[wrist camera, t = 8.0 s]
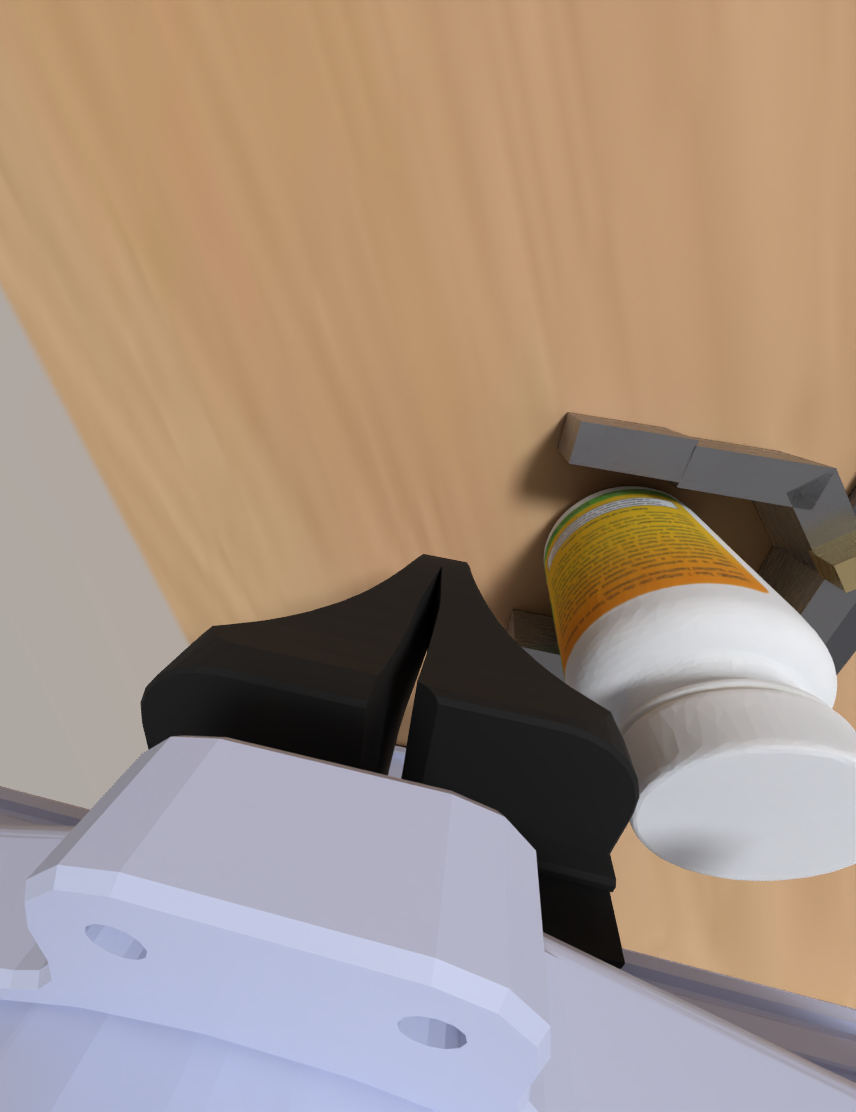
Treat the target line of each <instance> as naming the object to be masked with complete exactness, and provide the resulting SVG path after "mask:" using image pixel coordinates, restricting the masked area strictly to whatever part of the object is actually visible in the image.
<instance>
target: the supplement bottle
mask: <svg viewBox="0 0 856 1112" xmlns="http://www.w3.org/2000/svg"><path fill="white" fill-rule="evenodd" d="M544 569H545V575H546V582H547V587H548V591H549V596H550V602H551V607H552V613H553V619H554V624H555V629H556V635H557V640H558V646H559V651H560V656H561V663H562V669H563V674H564V680H565V683H566V684H567V685H569V686H570V687H572V688H573V689H575V690H576V691H578V692H580V693H581V694H583V695H584V696H586V697H588V698H589V699H591V700H593V701H594V702H596V703H597V704H599V705H601V706H602V707H604V708H606V709H607V710H609V711H610V712H611V713H612V715H613V718H614V720H615V722H616V724H617V726H618V728H619V731H620V733H621V735H622V737H623V739H624V742H625V744H626V747H627V749H628V752H629V754H630V757H631V760H632V763H633V766H634V769H635V772H636V775H637V778H638V784H639V800H638V803H637V806H636V808H635V811H634V814H633V816H632V817H631V819H630V823H631V826H632V828H633V830H634V832H635V834H636V835H637V837H638V838H639V839H640V840H641V842H642V843H643V844H644V845H645V846H646V847H647V848H648V849H649V850H650V851H652V852H653V853H654V854H656V855H657V856H659V857H660V858H662V859H664V860H666V861H668V862H670V863H672V864H674V865H677V866H679V867H681V868H684V869H687V870H690V871H694V872H697V873H701V874H705V875H710V876H715V877H720V878H727V879H735V880H751V881H775V880H788V879H797V878H805V877H812V876H816V875H821V874H826V873H829V872H833V871H837V870H839V869H842V868H845V867H848V866H851V865H853V864H856V731H855V730H854V729H853V728H852V726H851V725H850V724H849V723H848V722H847V721H846V720H845V719H844V718H843V717H842V716H841V715H839V714H838V713H837V712H835V711H834V710H832V708H833V705H834V701H835V698H836V691H837V676H836V670H835V665H834V663H833V660H832V657H831V655H830V653H829V651H828V649H827V647H826V646H825V644H824V643H823V641H822V640H821V638H820V637H819V636H818V634H817V633H816V631H815V630H814V629H813V628H812V627H811V626H810V625H809V624H808V623H807V622H806V621H805V619H804V618H803V617H802V616H801V615H800V614H799V613H798V612H797V611H796V610H795V609H794V608H793V607H792V606H791V605H790V604H789V603H788V602H786V601H785V600H784V599H783V598H782V597H781V596H780V595H779V594H778V593H777V592H776V591H775V590H774V589H773V588H772V587H771V586H770V585H769V584H768V583H767V582H765V581H764V580H763V579H762V578H761V577H760V576H759V575H758V574H757V573H756V572H755V571H754V570H753V569H752V568H751V567H750V566H749V565H748V564H747V563H746V562H745V561H744V560H742V559H741V558H740V557H739V556H738V555H737V554H736V553H735V552H734V551H733V550H732V549H731V548H730V547H729V546H728V545H727V544H726V543H725V542H724V541H723V540H722V539H721V538H720V537H719V536H718V535H717V534H716V533H715V532H714V531H712V530H711V529H710V528H709V527H708V526H707V525H706V524H705V523H704V522H703V521H702V520H701V519H700V518H699V517H698V516H697V515H696V514H695V513H694V512H693V511H692V510H690V509H689V508H688V507H687V506H686V505H685V504H684V503H682V502H681V501H679V500H678V499H677V498H675V497H673V496H672V495H670V494H667V493H665V492H663V491H660V490H656V489H653V488H647V487H640V486H622V487H615V488H609V489H605V490H602V491H599V492H596V493H594V494H591V495H589V496H587V497H586V498H584V499H582V500H580V501H579V502H577V503H576V504H575V505H573V506H572V507H571V508H569V509H568V510H567V511H566V512H565V513H564V514H563V515H562V516H561V517H560V518H559V520H558V521H557V522H556V523H555V525H554V527H553V528H552V530H551V532H550V534H549V536H548V539H547V542H546V545H545V550H544Z"/></svg>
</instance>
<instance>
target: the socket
mask: <svg viewBox="0 0 856 1112" xmlns="http://www.w3.org/2000/svg"><path fill="white" fill-rule="evenodd" d="M558 449H559V451H560V452H561V453H562V455H563V456H564V457H565V459H566V460H567V462H568V463H569V464H575V465H581V466H586V467H592V468H598V469H604V470H610V471H616V472H622V473H627V474H633V475H639V476H645V477H651V478H657V479H663V480H667V481H668V482H670V483H671V484H673V485H674V486H676V487H678V488H684V489H690V490H695V491H701V492H707V493H713V494H719V495H724V496H730V497H736V498H742V499H748V500H752V501H753V503H754V505H755V507H756V509H757V511H758V513H759V515H760V517H761V520H762V522H763V524H764V526H765V528H766V530H767V532H768V534H769V536H770V538H771V540H772V542H773V544H774V546H773V548H772V549H771V551H770V553H769V554H768V556H767V558H766V560H765V561H764V563H763V565H762V567H761V568H760V570H759V572H758V575H759V576H760V577H761V578H762V579H763V580H764V581H765V582H767V583H768V584H769V585H770V586H771V587H772V588H773V589H774V590H775V591H776V592H777V593H778V594H779V595H780V596H781V597H782V598H783V599H784V600H785V601H786V602H788V603H789V604H790V605H791V606H792V607H793V608H794V609H795V610H796V611H797V612H798V613H799V614H800V615H801V616H802V617H803V618H804V619H805V621H806V622H807V623H808V624H809V625H810V626H811V627H812V628H813V629H814V630H815V631H816V633H817V634H818V636H819V637H820V638H821V640H822V641H823V643H824V644H825V646H826V647H827V649H828V651H829V653H830V655H831V657H832V660H833V663H834V665H835V670H836V675H837V674H838V673H839V672H840V670H841V669H842V668H843V666H844V665H845V664H846V663H847V661H848V660H849V659H850V657H851V656H852V655H853V654H854V652H855V651H856V486H855V488H854V489H853V491H852V493H851V494H850V496H849V497H848V496H847V494H846V491H845V489H844V486H843V484H842V481H841V479H840V477H839V474H838V472H837V469H836V468H833V467H830V466H826V465H823V464H820V463H816V462H813V461H810V460H807V459H803V458H800V457H797V456H793V455H790V454H787V453H783V452H780V451H775V450H769V449H762V448H756V447H750V446H744V445H738V444H732V443H725V442H719V441H713V440H707V439H701V438H694V437H689V436H686V435H683V434H680V433H678V432H675V431H672V430H670V429H667V428H663V427H657V426H651V425H645V424H638V423H632V422H626V421H620V420H613V419H607V418H601V417H595V416H589V415H582V414H576V413H570V412H567V415H566V419H565V423H564V426H563V430H562V433H561V437H560V441H559V444H558ZM507 633H508V634H509V635H510V636H511V637H512V638H513V639H514V640H515V641H516V642H517V643H518V644H519V645H520V646H521V647H522V648H523V649H524V650H525V651H526V652H527V653H528V654H529V655H530V656H532V657H533V658H534V659H535V660H536V661H537V662H538V663H540V664H541V665H542V666H543V667H544V668H546V669H547V670H548V671H550V672H551V673H552V674H554V675H555V676H556V677H558V678H559V679H560V680H562V681H563V682H564V683H565V680H564V674H563V669H562V663H561V656H560V651H559V646H558V640H557V635H556V629H555V624H554V619H553V617H550V616H545V615H540V614H535V613H530V612H525V611H520V610H515V609H513V610H512V613H511V617H510V621H509V624H508V628H507Z"/></svg>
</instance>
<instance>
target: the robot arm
mask: <svg viewBox="0 0 856 1112" xmlns="http://www.w3.org/2000/svg"><path fill="white" fill-rule="evenodd" d="M427 648H428V649H427ZM426 651H427V655H426V658H425V661H424V664H423V667H422V670H421V673H420V676H419V678H418V681H417V687H416V693H415V699H414V705H413V711H412V717H411V723H410V729H409V735H408V741H407V747H406V748H404V747H400V746H396V745H395V744H396V740H397V736H398V732H399V728H400V725H401V722H402V719H403V715H404V712H405V709H406V707H407V704H408V701H409V698H410V695H411V693H412V690H413V687H414V684H415V682H416V679H417V676H418V673H419V671H420V668H421V665H422V662H423V659H424V657H425V654H426ZM141 714H142V723H143V728H144V732H145V736H146V740H147V745H148V749H149V750H148V751H146V752H144V753H143V754H141V756H140V757H139V758H138V759H137V760H136V761H135V762H134V763H133V764H132V765H131V766H130V767H129V769H128V770H127V771H126V772H125V773H124V774H123V775H122V776H121V777H120V778H119V779H118V780H117V782H116V783H115V784H114V785H113V786H112V787H111V788H110V789H109V790H108V791H107V792H106V794H105V795H104V796H103V797H102V798H101V799H100V800H99V801H98V802H97V803H96V804H95V805H94V806H93V808H92V809H91V810H89V809H85V808H82V807H78V806H74V805H70V804H66V803H62V802H59V801H55V800H51V799H47V798H43V797H39V796H35V795H31V794H28V793H24V792H20V791H16V790H12V789H9V788H5V787H1V786H0V1112H856V1009H853V1008H849V1007H846V1006H842V1005H838V1004H834V1003H830V1002H826V1001H823V1000H819V999H815V998H811V997H807V996H803V995H800V994H796V993H792V992H788V991H784V990H780V989H777V988H773V987H769V986H765V985H761V984H757V983H754V982H750V981H746V980H742V979H738V978H734V977H730V976H727V975H723V974H719V973H715V972H711V971H707V970H704V969H700V968H696V967H692V966H688V965H684V964H681V963H677V962H673V961H669V960H665V959H661V958H658V957H654V956H650V955H646V954H642V953H638V952H635V951H631V950H627V949H623V948H622V947H621V942H620V937H619V933H618V928H617V924H616V919H615V914H614V910H613V905H612V901H611V896H610V892H613V891H614V889H615V887H616V877H615V873H614V869H613V865H612V861H611V856H610V853H611V851H612V849H613V848H614V846H615V844H616V843H617V841H618V839H619V838H620V836H621V834H622V833H623V831H624V829H625V827H626V826H627V824H628V822H629V821H630V819H631V817H632V816H633V814H634V811H635V808H636V806H637V803H638V800H639V784H638V778H637V775H636V772H635V769H634V766H633V763H632V760H631V757H630V754H629V752H628V749H627V747H626V744H625V742H624V739H623V737H622V735H621V733H620V731H619V728H618V726H617V724H616V722H615V720H614V718H613V715H612V713H611V712H610V711H609V710H607V709H606V708H604V707H602V706H601V705H599V704H597V703H596V702H594V701H593V700H591V699H589V698H588V697H586V696H584V695H583V694H581V693H580V692H578V691H576V690H575V689H573V688H572V687H570V686H569V685H567V684H566V683H564V682H563V681H562V680H560V679H559V678H558V677H556V676H555V675H554V674H552V673H551V672H550V671H548V670H547V669H546V668H544V667H543V666H542V665H541V664H540V663H538V662H537V661H536V660H535V659H534V658H533V657H532V656H530V655H529V654H528V653H527V652H526V651H525V650H524V649H523V648H522V647H521V646H520V645H519V644H518V643H517V642H516V641H515V640H514V639H513V638H512V637H511V636H510V635H509V634H508V633H507V631H506V630H505V629H504V628H503V627H502V626H501V624H500V623H499V622H498V621H497V619H496V618H495V616H494V615H493V613H492V612H491V610H490V609H489V607H488V605H487V604H486V602H485V600H484V599H483V597H482V595H481V593H480V591H479V589H478V587H477V585H476V583H475V581H474V578H473V576H472V573H471V570H470V567H469V565H468V564H467V562H462V561H457V560H452V559H446V558H441V557H436V556H431V555H426V554H423V555H421V556H420V557H418V558H417V559H415V560H414V561H413V562H411V563H410V564H409V565H407V566H406V567H405V568H403V569H402V570H401V571H399V572H398V573H396V574H395V575H393V576H392V577H390V578H389V579H387V580H385V581H384V582H382V583H380V584H378V585H377V586H375V587H373V588H371V589H369V590H367V591H365V592H363V593H361V594H359V595H356V596H354V597H352V598H349V599H347V600H344V601H342V602H339V603H336V604H332V605H329V606H326V607H323V608H319V609H316V610H313V611H309V612H305V613H301V614H297V615H292V616H287V617H282V618H276V619H271V620H264V621H257V622H248V623H239V624H229V625H219V626H212V627H211V628H210V629H208V630H207V631H206V632H205V633H204V634H202V635H201V636H200V637H199V638H198V639H197V640H196V641H194V642H193V643H192V644H191V645H190V646H189V647H188V648H187V649H185V650H184V651H183V652H182V653H181V654H180V655H179V656H178V657H177V658H176V659H175V660H173V661H172V662H171V663H170V664H169V665H168V666H167V667H166V668H165V669H164V670H162V671H161V672H160V673H159V674H158V675H157V676H156V677H155V678H154V679H153V680H152V681H151V682H150V683H149V685H148V686H147V687H146V688H145V691H144V694H143V697H142V700H141Z"/></svg>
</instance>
